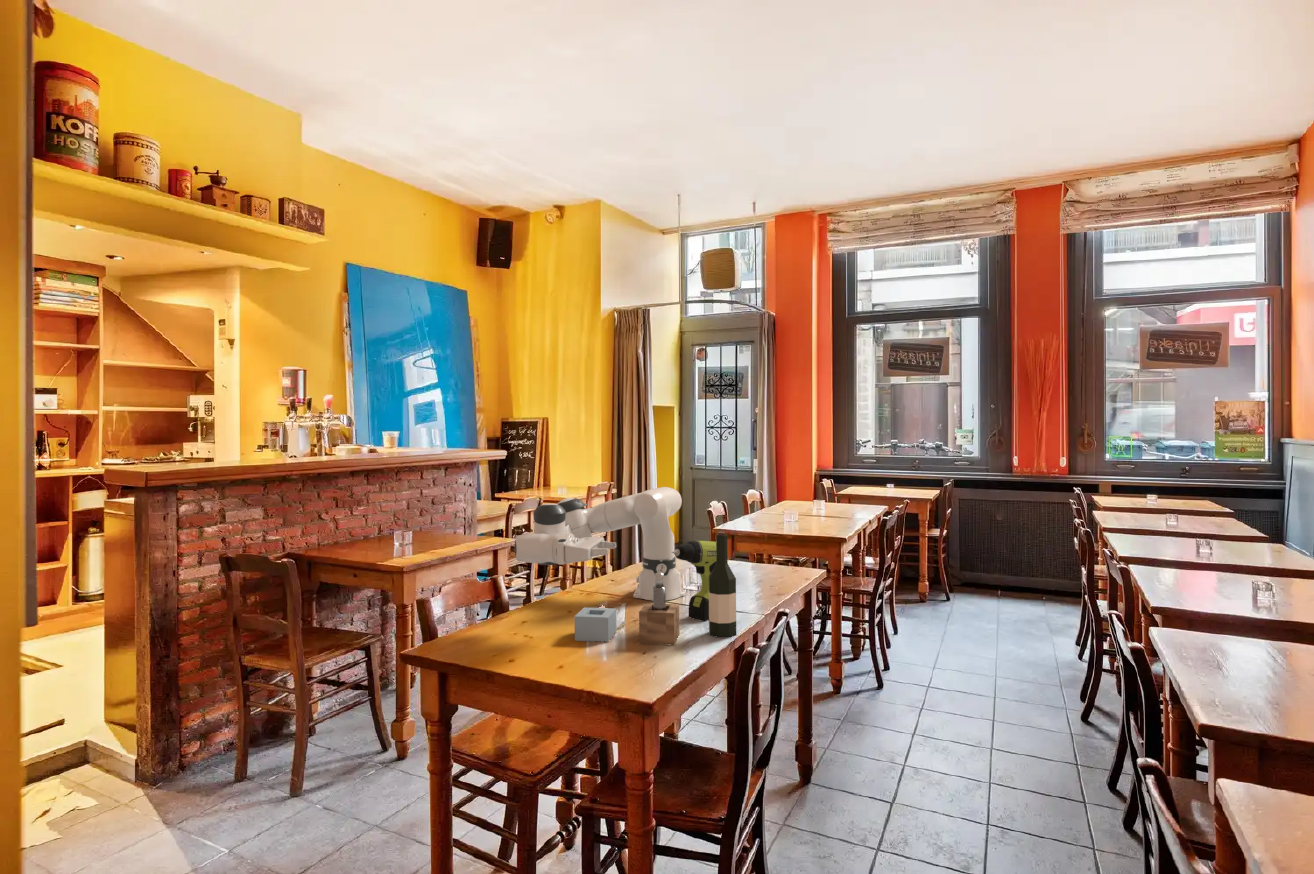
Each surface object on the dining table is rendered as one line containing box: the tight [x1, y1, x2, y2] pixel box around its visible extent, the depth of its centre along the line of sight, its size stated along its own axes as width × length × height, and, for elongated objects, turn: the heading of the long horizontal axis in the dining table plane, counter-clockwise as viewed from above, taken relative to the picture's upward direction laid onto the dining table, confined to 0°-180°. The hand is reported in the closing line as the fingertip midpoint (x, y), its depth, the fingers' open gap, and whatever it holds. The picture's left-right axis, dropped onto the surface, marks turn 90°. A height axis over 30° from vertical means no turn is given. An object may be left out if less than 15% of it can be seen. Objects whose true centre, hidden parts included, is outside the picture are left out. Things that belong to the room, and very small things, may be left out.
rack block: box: [638, 602, 680, 646], centre depth 203 cm, size 10×10×9 cm
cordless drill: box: [672, 540, 716, 622], centre depth 224 cm, size 23×7×25 cm, turn 134°
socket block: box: [574, 606, 618, 643], centre depth 207 cm, size 10×10×7 cm
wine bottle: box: [708, 531, 737, 638], centre depth 208 cm, size 8×8×30 cm
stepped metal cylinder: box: [652, 572, 667, 611], centre depth 203 cm, size 4×4×16 cm
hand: (612, 548), depth 207 cm, fingers open, 8 cm apart
